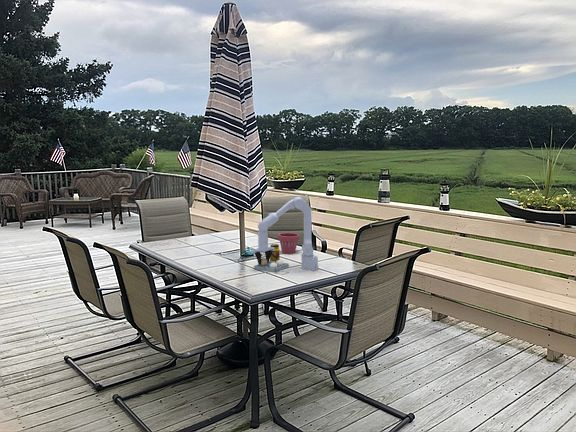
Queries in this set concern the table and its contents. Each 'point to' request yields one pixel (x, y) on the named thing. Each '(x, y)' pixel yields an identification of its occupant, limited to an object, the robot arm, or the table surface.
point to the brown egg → (263, 261)
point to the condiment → (275, 253)
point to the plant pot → (288, 242)
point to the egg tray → (267, 268)
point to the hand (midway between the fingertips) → (263, 263)
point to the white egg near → (279, 262)
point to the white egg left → (273, 265)
